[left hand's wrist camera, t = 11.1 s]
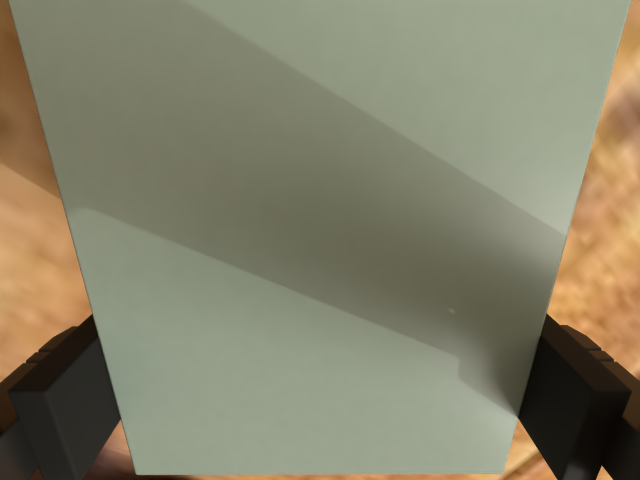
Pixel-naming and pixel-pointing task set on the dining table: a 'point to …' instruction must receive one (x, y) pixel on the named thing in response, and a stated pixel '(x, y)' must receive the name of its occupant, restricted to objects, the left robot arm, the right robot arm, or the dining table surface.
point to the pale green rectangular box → (319, 216)
